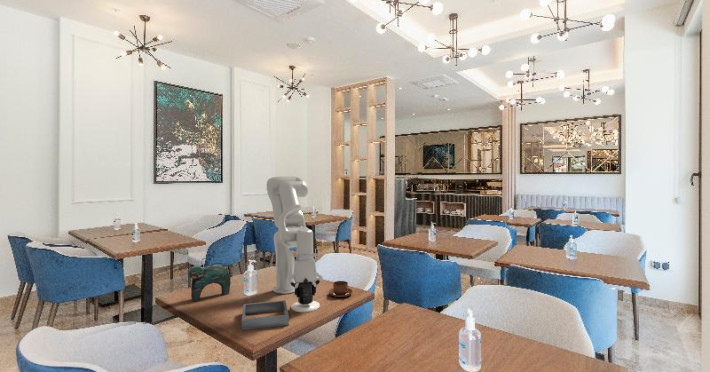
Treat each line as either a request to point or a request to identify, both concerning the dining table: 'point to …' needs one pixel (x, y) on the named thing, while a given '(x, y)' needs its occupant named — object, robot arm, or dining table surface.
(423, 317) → the dining table surface
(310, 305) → the plate
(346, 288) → the cup and saucer
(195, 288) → the ceramic cat
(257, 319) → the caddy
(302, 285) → the supplement bottle
